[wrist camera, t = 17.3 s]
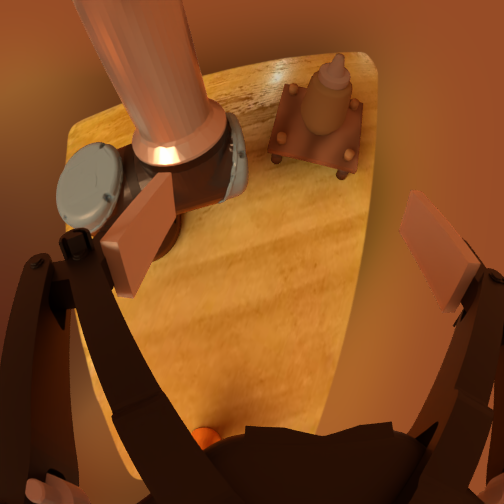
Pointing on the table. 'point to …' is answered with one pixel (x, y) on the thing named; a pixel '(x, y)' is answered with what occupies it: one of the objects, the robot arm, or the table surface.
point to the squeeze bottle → (327, 98)
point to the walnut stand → (311, 145)
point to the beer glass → (205, 437)
